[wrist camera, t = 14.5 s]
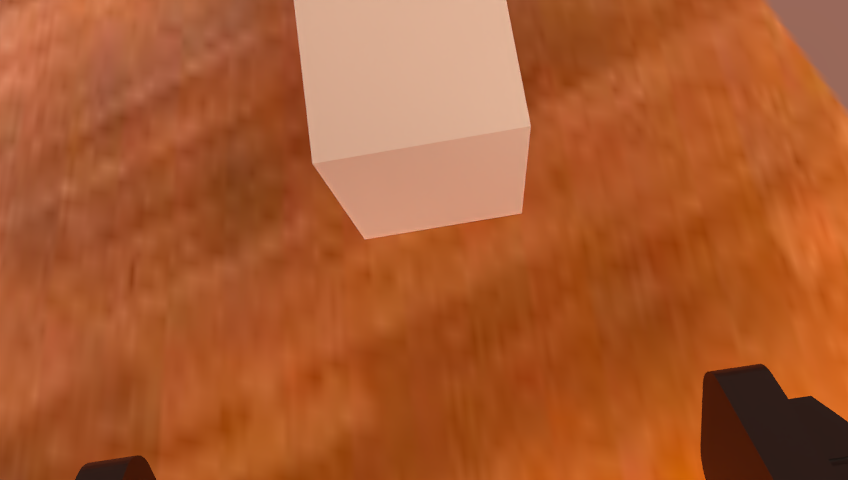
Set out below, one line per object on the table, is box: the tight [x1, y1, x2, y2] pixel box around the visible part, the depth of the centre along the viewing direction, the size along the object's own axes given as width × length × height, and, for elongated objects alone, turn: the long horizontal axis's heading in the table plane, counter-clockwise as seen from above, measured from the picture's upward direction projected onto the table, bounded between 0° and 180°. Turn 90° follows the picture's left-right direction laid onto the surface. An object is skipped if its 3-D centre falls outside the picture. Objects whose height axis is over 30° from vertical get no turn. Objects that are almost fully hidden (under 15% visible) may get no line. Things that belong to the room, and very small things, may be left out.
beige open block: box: [294, 0, 531, 239], centre depth 27 cm, size 6×6×9 cm
